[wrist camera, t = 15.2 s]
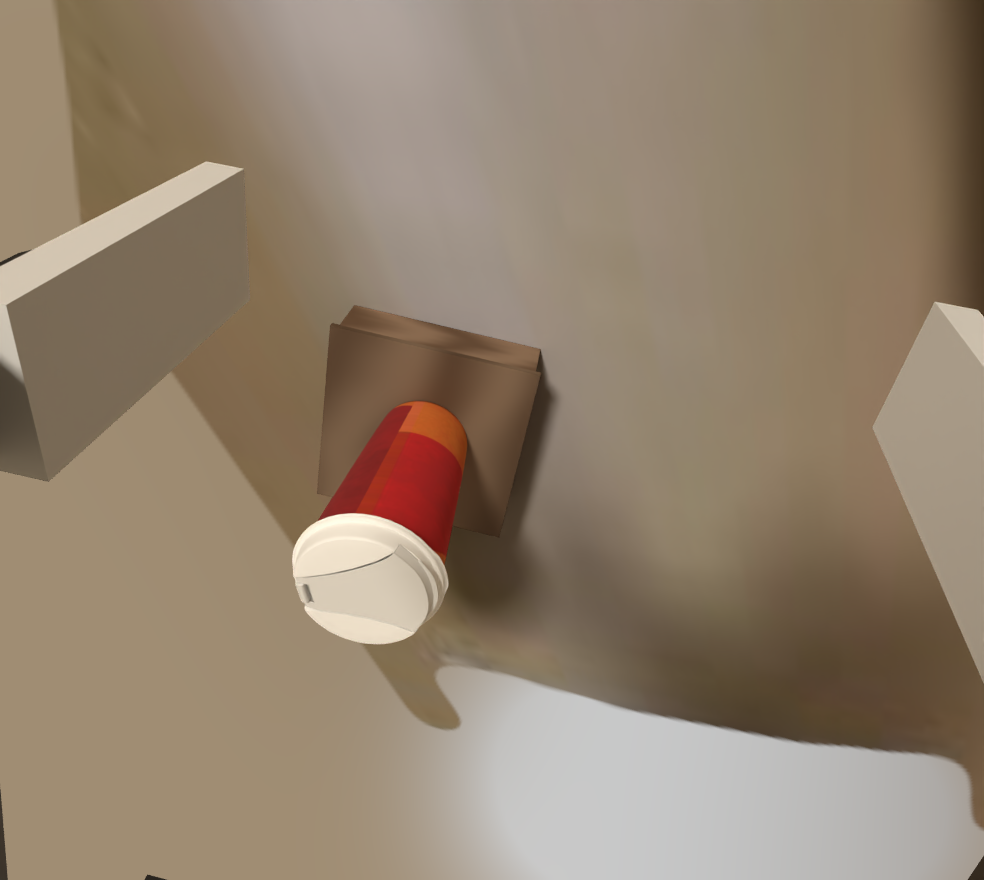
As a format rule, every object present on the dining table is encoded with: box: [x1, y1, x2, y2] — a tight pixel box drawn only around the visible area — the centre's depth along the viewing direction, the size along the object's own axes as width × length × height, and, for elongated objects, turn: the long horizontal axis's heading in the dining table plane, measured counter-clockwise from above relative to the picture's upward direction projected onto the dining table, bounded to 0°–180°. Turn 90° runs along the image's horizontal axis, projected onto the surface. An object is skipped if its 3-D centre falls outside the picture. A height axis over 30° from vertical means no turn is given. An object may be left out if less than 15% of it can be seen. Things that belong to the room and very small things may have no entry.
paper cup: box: [292, 401, 467, 644], centre depth 43 cm, size 8×8×14 cm
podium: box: [317, 305, 541, 537], centre depth 50 cm, size 13×13×4 cm
